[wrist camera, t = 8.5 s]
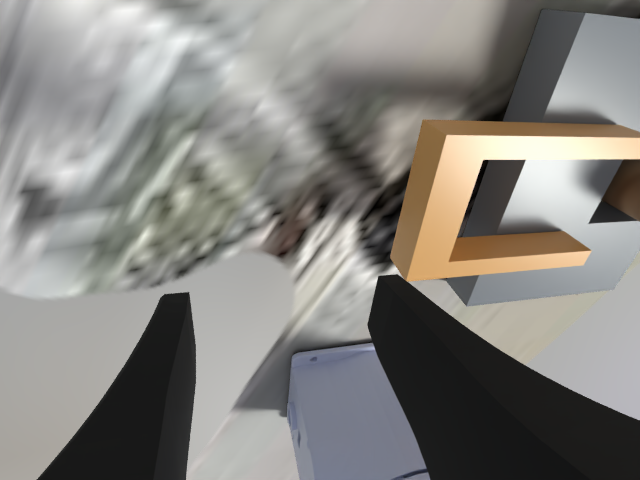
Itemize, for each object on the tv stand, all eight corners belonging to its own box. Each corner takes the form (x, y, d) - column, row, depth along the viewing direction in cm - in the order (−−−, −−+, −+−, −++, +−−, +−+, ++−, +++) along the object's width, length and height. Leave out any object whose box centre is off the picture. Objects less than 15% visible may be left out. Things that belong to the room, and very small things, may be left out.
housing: (446, 281, 26) (466, 306, 24) (542, 8, 17) (585, 12, 15) (585, 268, 29) (613, 289, 27) (726, 30, 20) (782, 35, 18)
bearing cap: (390, 257, 20) (406, 281, 18) (422, 119, 16) (446, 135, 15) (556, 245, 23) (583, 265, 21) (619, 124, 19) (657, 138, 17)
